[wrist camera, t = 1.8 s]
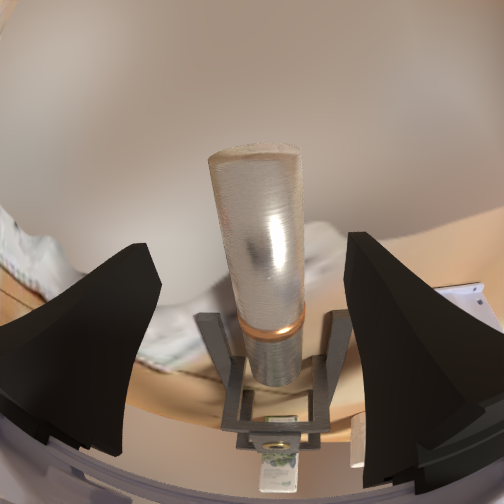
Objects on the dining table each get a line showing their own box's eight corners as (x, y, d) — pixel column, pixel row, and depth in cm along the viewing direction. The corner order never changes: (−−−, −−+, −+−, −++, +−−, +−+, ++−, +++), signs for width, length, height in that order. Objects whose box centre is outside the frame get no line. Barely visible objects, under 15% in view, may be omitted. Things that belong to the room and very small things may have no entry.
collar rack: (353, 309, 23) (370, 404, 15) (327, 407, 37) (328, 461, 29) (199, 312, 25) (173, 402, 18) (237, 407, 39) (230, 460, 31)
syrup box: (269, 425, 43) (263, 493, 32) (264, 415, 40) (257, 491, 28) (299, 424, 42) (296, 493, 31) (298, 414, 39) (295, 491, 27)
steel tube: (218, 147, 16) (193, 171, 12) (300, 140, 16) (306, 162, 11) (253, 344, 28) (246, 386, 23) (302, 344, 27) (302, 388, 22)
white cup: (383, 403, 36) (390, 455, 28) (391, 413, 40) (397, 458, 32) (341, 416, 40) (344, 465, 31) (355, 425, 43) (357, 468, 35)
